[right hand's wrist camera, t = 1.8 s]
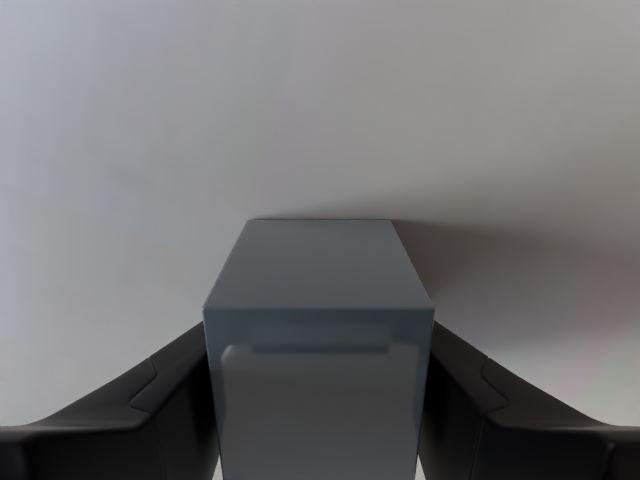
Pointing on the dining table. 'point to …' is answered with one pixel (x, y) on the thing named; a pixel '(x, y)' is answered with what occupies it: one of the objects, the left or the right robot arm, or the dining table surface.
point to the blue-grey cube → (318, 352)
